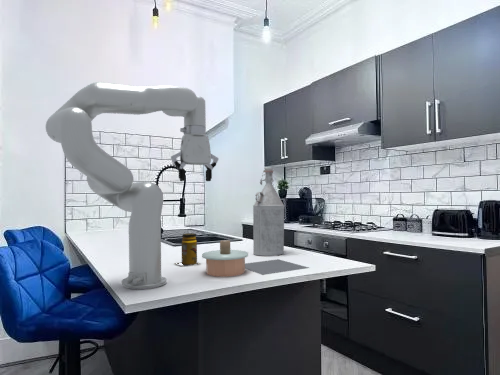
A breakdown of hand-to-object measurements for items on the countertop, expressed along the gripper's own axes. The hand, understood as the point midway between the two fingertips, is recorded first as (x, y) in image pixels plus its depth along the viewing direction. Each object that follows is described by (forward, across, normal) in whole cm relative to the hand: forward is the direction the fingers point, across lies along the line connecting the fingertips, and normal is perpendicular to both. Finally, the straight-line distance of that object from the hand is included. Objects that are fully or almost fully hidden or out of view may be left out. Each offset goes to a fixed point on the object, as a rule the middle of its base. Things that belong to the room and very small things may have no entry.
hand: (195, 181), depth 123 cm
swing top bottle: (+32, +42, +19) cm, 56 cm away
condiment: (+32, +3, +18) cm, 37 cm away
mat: (+32, +27, -6) cm, 43 cm away
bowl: (+32, +9, -5) cm, 34 cm away
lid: (+26, +9, -5) cm, 28 cm away
